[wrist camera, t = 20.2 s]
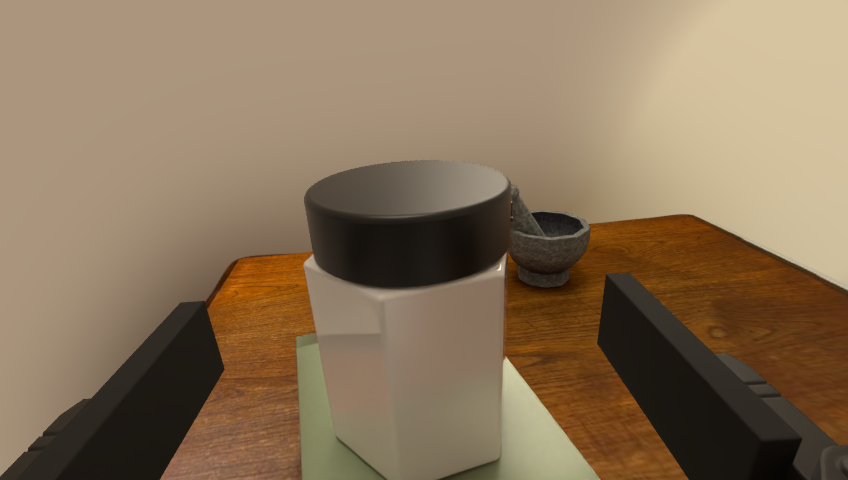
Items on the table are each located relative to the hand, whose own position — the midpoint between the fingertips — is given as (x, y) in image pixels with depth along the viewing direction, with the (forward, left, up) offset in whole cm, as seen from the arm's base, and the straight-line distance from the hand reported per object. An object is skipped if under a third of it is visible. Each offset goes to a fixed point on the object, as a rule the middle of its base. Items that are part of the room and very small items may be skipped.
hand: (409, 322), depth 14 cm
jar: (+1, +4, -9) cm, 10 cm away
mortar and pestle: (+23, +29, -18) cm, 41 cm away
